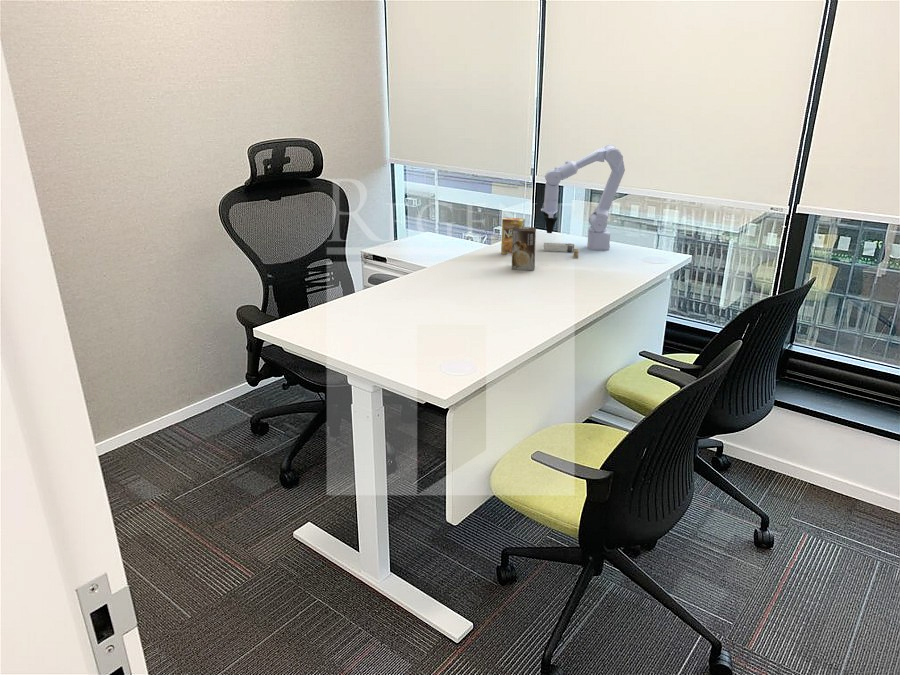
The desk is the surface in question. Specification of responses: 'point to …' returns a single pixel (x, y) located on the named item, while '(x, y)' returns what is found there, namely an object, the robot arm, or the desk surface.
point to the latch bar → (559, 247)
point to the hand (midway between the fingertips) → (548, 230)
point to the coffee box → (523, 248)
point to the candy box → (509, 232)
